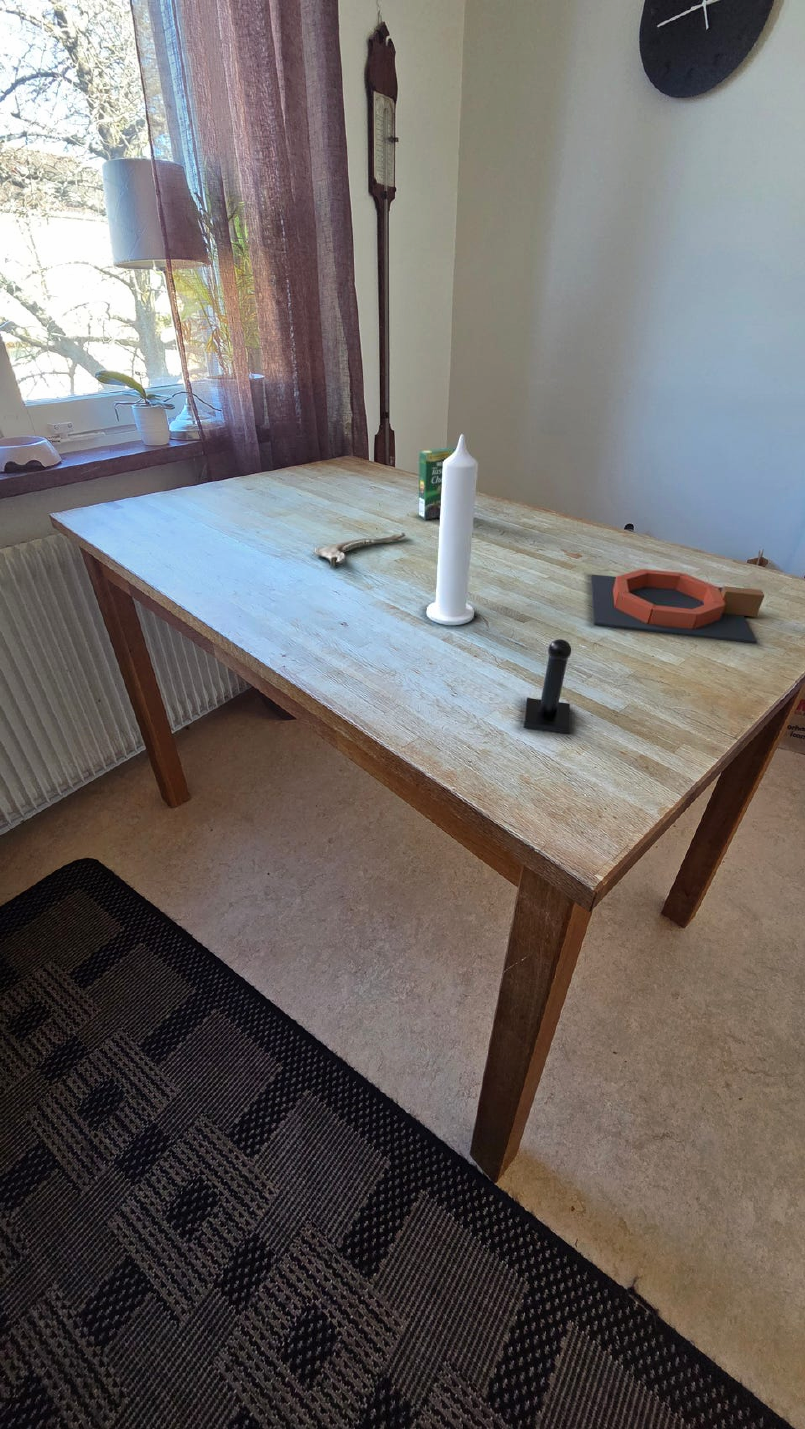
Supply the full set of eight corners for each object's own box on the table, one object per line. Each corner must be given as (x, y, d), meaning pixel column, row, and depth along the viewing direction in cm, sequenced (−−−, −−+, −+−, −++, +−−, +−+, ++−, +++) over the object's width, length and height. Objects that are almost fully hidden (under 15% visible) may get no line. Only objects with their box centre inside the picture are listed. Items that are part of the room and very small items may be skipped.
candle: (450, 599, 94) (462, 426, 79) (483, 616, 90) (502, 435, 75) (416, 612, 90) (422, 433, 76) (449, 630, 86) (462, 443, 71)
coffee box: (423, 521, 124) (425, 453, 116) (416, 516, 126) (418, 450, 118) (456, 515, 127) (461, 449, 119) (449, 511, 129) (453, 446, 121)
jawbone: (301, 564, 106) (299, 552, 105) (369, 532, 120) (369, 522, 119) (341, 572, 102) (340, 560, 100) (407, 538, 116) (407, 527, 114)
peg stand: (568, 708, 71) (585, 632, 65) (568, 734, 67) (586, 655, 61) (526, 702, 72) (538, 627, 66) (523, 727, 68) (536, 649, 62)
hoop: (743, 593, 97) (751, 572, 95) (767, 637, 85) (776, 615, 83) (611, 579, 100) (616, 559, 98) (616, 620, 88) (621, 598, 86)
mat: (728, 590, 99) (729, 588, 98) (755, 643, 84) (756, 641, 84) (591, 576, 102) (591, 574, 102) (593, 625, 88) (594, 622, 88)
